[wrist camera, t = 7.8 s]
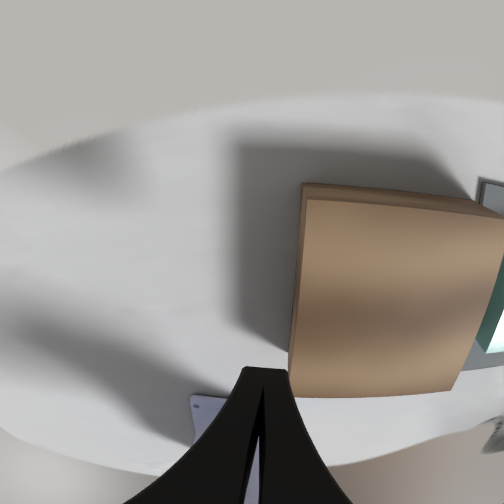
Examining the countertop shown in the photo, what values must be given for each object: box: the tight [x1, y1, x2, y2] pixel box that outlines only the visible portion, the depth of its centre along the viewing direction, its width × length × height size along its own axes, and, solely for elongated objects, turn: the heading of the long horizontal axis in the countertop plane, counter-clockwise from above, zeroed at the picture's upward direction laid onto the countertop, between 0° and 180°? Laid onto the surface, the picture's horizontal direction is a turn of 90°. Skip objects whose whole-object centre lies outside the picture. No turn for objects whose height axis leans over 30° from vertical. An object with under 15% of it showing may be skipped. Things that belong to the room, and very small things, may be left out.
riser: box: [288, 183, 504, 398], centre depth 16 cm, size 11×10×4 cm
